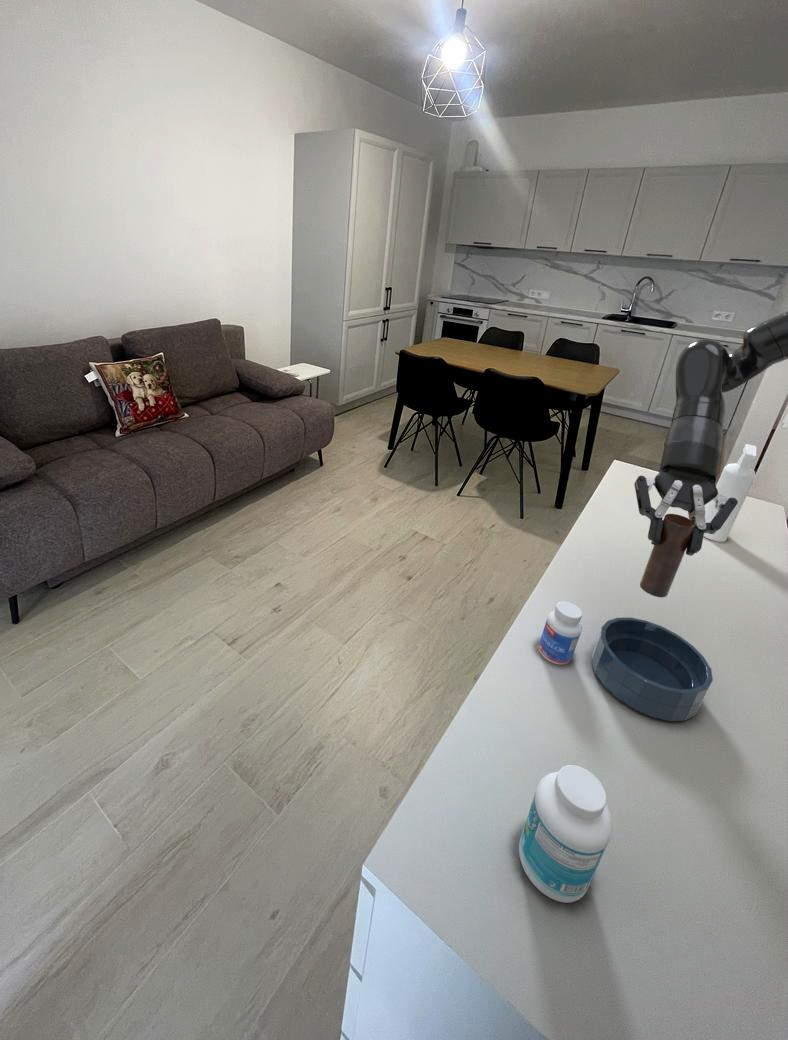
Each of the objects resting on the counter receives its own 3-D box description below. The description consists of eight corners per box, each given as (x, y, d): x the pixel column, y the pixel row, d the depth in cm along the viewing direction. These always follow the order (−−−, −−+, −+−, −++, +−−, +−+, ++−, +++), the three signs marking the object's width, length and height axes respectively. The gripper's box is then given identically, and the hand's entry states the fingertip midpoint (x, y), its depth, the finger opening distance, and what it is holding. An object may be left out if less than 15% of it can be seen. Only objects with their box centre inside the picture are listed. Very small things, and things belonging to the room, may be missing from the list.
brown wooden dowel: (671, 591, 80) (699, 522, 75) (662, 601, 78) (691, 530, 73) (644, 578, 83) (669, 510, 78) (635, 587, 80) (661, 518, 76)
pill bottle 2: (540, 815, 61) (567, 738, 56) (599, 874, 55) (635, 795, 50) (503, 856, 56) (529, 777, 51) (564, 924, 51) (600, 843, 46)
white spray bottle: (728, 530, 131) (766, 442, 121) (727, 549, 122) (767, 456, 112) (698, 520, 134) (733, 435, 125) (694, 538, 126) (731, 447, 116)
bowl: (709, 689, 81) (724, 659, 78) (679, 744, 71) (695, 712, 69) (612, 633, 91) (622, 605, 89) (574, 674, 81) (584, 644, 79)
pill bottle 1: (532, 650, 86) (545, 605, 82) (547, 637, 89) (560, 593, 85) (562, 671, 82) (577, 625, 78) (577, 656, 85) (592, 611, 82)
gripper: (647, 429, 80) (625, 526, 75) (755, 452, 74) (739, 559, 69) (637, 449, 87) (616, 540, 81) (735, 471, 81) (719, 570, 75)
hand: (672, 548), depth 75 cm, fingers closed on brown wooden dowel, 4 cm apart
